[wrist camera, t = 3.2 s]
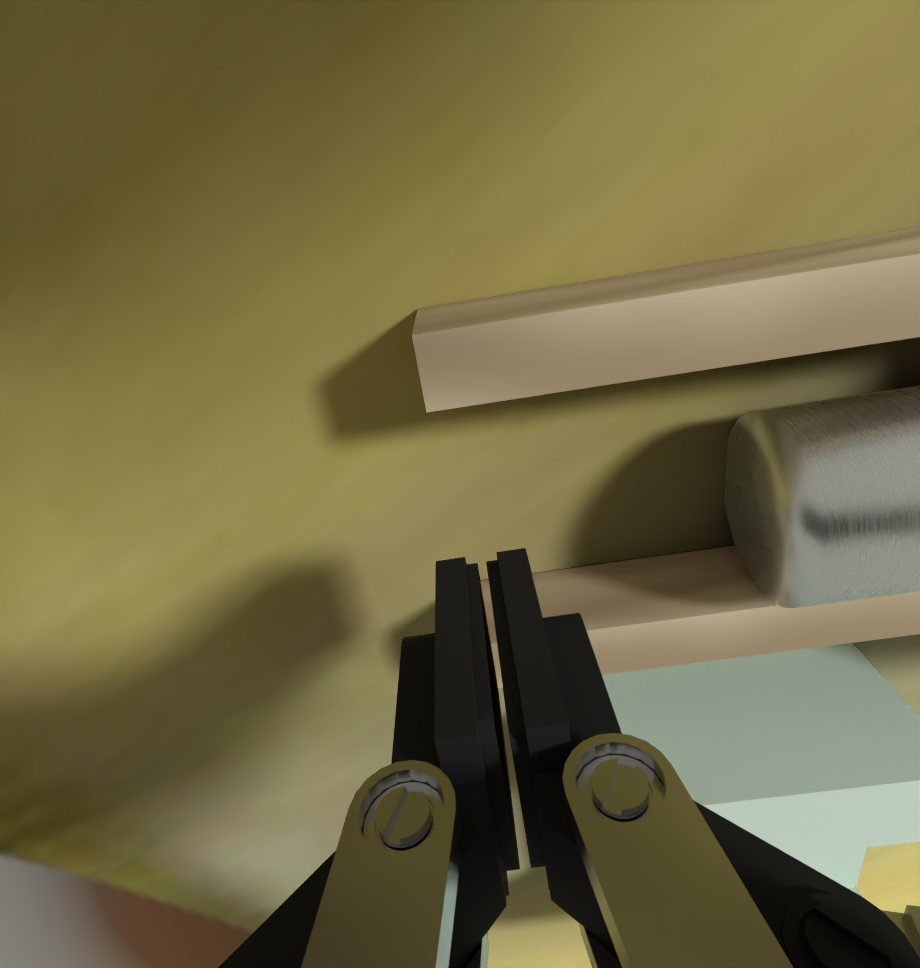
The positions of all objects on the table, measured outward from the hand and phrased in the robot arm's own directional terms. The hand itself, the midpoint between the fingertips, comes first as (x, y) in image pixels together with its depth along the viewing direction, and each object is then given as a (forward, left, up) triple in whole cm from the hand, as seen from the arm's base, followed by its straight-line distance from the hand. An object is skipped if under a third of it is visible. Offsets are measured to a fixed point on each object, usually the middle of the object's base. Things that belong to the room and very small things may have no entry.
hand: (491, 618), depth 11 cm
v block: (+12, +6, -5) cm, 14 cm away
